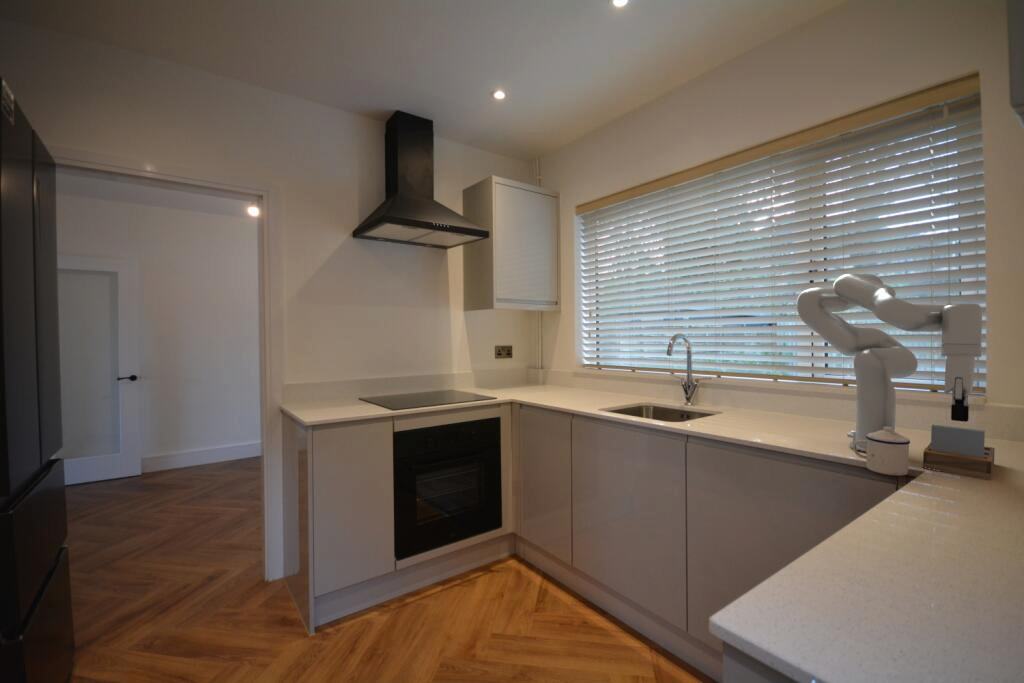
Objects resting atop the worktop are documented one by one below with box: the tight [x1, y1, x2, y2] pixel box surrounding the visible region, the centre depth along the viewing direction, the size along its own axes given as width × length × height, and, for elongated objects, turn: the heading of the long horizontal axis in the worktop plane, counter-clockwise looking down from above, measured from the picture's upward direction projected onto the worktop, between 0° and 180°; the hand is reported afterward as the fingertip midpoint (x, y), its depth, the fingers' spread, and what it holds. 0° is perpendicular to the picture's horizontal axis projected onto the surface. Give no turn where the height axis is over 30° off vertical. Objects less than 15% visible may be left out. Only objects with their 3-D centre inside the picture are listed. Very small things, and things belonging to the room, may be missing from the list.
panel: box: [930, 424, 986, 459], centre depth 123 cm, size 2×10×10 cm, turn 42°
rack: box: [922, 442, 996, 481], centre depth 127 cm, size 20×13×5 cm, turn 132°
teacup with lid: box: [852, 427, 911, 477], centre depth 124 cm, size 12×9×12 cm
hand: (959, 420), depth 122 cm, fingers closed
